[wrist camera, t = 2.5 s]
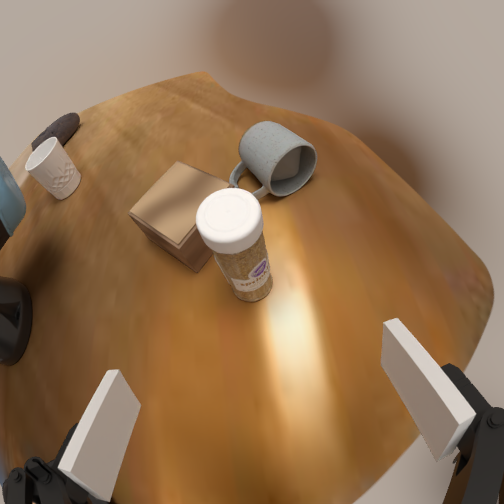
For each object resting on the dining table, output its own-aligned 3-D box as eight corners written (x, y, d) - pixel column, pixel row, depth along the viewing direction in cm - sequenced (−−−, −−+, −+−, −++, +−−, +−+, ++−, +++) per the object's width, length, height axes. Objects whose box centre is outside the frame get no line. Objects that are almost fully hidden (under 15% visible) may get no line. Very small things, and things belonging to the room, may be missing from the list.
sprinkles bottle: (260, 309, 29) (239, 252, 17) (224, 291, 30) (181, 226, 18) (280, 273, 30) (272, 196, 18) (244, 257, 32) (216, 178, 20)
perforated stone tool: (79, 122, 56) (68, 104, 50) (88, 124, 54) (75, 104, 48) (40, 163, 51) (26, 146, 45) (46, 167, 49) (30, 149, 43)
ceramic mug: (280, 147, 39) (275, 106, 32) (317, 178, 36) (319, 135, 29) (220, 182, 38) (205, 142, 31) (253, 220, 34) (242, 179, 27)
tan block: (148, 238, 35) (126, 212, 29) (191, 190, 37) (177, 159, 32) (197, 273, 32) (178, 248, 26) (242, 216, 34) (233, 183, 29)
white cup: (48, 201, 43) (19, 171, 34) (67, 170, 46) (42, 139, 37) (69, 203, 41) (37, 169, 32) (90, 170, 44) (64, 134, 35)
